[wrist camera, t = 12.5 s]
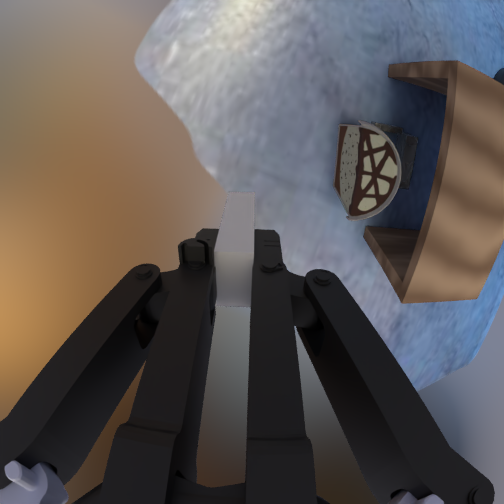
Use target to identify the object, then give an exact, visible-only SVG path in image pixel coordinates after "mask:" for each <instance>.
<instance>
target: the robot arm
mask: <svg viewBox="0 0 504 504" xmlns="http://www.w3.org/2000/svg"><path fill="white" fill-rule="evenodd" d="M494 80H496V81H498V82H499V83H501V84H503V85H504V68H503V69H501V70H500V71H499V72H498V73H497V74H496V76H495V78H494ZM254 221H255V192H229V193H228V197H227V201H226V205H225V209H224V212H223V217H222V220H221V225H220V228H219V229H202V230H200V231H199V232H198V233H197V234H196V237H195V238H191V239H187V240H184V241H183V242H181V243H180V244H179V245H178V252H179V260H180V265H179V268H178V269H176V270H173V271H168V272H161V273H160V269H159V267H158V266H156V265H154V264H141V265H138V266H136V267H134V268H133V269H131V270H130V271H129V272H128V273H127V274H126V275H125V276H124V277H123V278H122V279H121V280H120V281H119V283H118V284H117V285H116V286H115V287H114V288H113V289H112V290H111V291H110V292H109V293H108V294H107V295H106V296H105V297H104V299H103V300H102V301H101V302H100V303H99V304H98V305H97V306H96V307H95V308H94V309H93V310H92V312H91V313H90V314H89V315H88V316H87V317H86V318H85V319H84V320H83V322H82V323H81V324H80V325H79V326H78V327H77V328H76V330H75V331H74V332H73V333H72V334H71V335H70V337H69V338H68V339H67V340H66V341H65V342H64V344H63V345H62V346H61V347H60V348H59V350H58V351H57V352H56V353H55V355H54V356H53V357H52V358H51V359H50V361H49V362H48V363H47V364H46V366H45V367H44V368H43V369H42V370H41V372H40V373H39V374H38V376H37V377H36V378H35V380H34V381H33V382H32V384H31V385H30V386H29V387H28V389H27V390H26V391H25V393H24V394H23V396H22V397H21V398H20V399H19V401H18V402H17V404H16V405H15V406H14V408H13V409H12V410H11V412H10V413H9V415H8V416H7V417H6V418H5V419H3V420H2V421H1V422H0V503H1V504H65V503H66V502H67V500H68V494H67V492H66V490H65V489H64V485H65V484H66V483H67V482H68V481H70V479H71V478H72V477H73V476H74V475H75V474H76V473H77V471H78V470H79V468H80V467H81V465H82V464H83V462H84V461H85V459H86V457H87V456H88V454H89V452H90V451H91V449H92V447H93V445H94V443H95V442H96V440H97V439H98V437H99V435H100V434H101V432H102V430H103V429H104V427H105V425H106V424H107V422H108V420H109V419H110V417H111V415H112V414H113V412H114V411H115V409H116V407H117V406H118V404H119V402H120V401H121V399H122V397H123V396H124V394H125V393H126V391H127V389H128V388H129V386H130V385H131V383H132V381H133V380H134V378H135V377H136V375H137V373H138V372H139V370H140V369H141V367H142V366H143V364H144V362H145V361H146V363H145V366H144V369H143V373H142V376H141V380H140V383H139V386H138V389H137V393H136V396H135V400H134V403H133V407H132V411H131V414H130V417H129V420H128V421H127V422H126V423H124V424H121V425H120V426H119V427H118V428H117V431H116V433H115V435H114V439H113V443H112V446H111V450H110V454H109V458H108V463H107V467H106V471H105V475H104V479H103V482H102V483H101V484H99V485H98V486H96V487H95V488H94V489H92V490H91V491H90V492H88V493H86V494H85V495H84V496H82V497H81V498H79V499H78V500H76V501H75V502H74V503H72V504H330V503H328V502H327V501H326V500H324V499H323V498H321V497H320V496H317V495H316V482H315V469H314V458H313V449H312V444H311V441H310V439H308V437H307V436H306V431H305V422H304V411H303V401H302V391H301V381H300V372H299V363H298V354H297V347H296V337H295V330H294V326H296V328H297V331H298V334H299V336H300V338H301V340H302V342H303V344H304V347H305V349H306V351H307V353H308V355H309V358H310V360H311V362H312V364H313V366H314V368H315V371H316V373H317V375H318V377H319V379H320V381H321V384H322V386H323V388H324V390H325V392H326V395H327V397H328V399H329V401H330V403H331V405H332V408H333V410H334V412H335V414H336V416H337V418H338V421H339V423H340V425H341V427H342V430H343V432H344V434H345V436H346V438H347V441H348V443H349V445H350V447H351V450H352V452H353V454H354V456H355V458H356V461H357V463H358V465H359V467H360V470H361V472H362V474H363V476H364V479H365V481H366V482H367V484H368V486H369V488H370V490H371V492H372V493H373V495H374V496H375V497H376V499H377V500H378V502H379V503H380V504H492V503H493V501H494V494H495V492H494V487H493V484H492V483H491V482H490V480H489V479H487V478H486V477H485V476H484V475H483V474H481V473H480V472H479V471H478V470H477V469H475V468H474V467H473V466H472V465H471V464H470V463H468V462H467V461H466V460H465V459H464V458H462V457H461V456H460V455H459V454H458V453H456V452H455V451H454V450H453V449H452V448H451V447H450V446H449V444H448V443H447V441H446V439H445V438H444V436H443V434H442V432H441V431H440V429H439V427H438V426H437V424H436V422H435V421H434V419H433V417H432V416H431V414H430V412H429V411H428V409H427V407H426V406H425V404H424V402H423V401H422V399H421V398H420V396H419V395H418V393H417V391H416V390H415V388H414V387H413V385H412V383H411V382H410V380H409V379H408V377H407V376H406V374H405V373H404V371H403V370H402V368H401V367H400V365H399V364H398V362H397V361H396V359H395V357H394V356H393V355H392V353H391V352H390V350H389V349H388V347H387V346H386V344H385V343H384V341H383V340H382V338H381V337H380V335H379V334H378V332H377V331H376V330H375V328H374V327H373V325H372V324H371V322H370V321H369V320H368V318H367V317H366V315H365V314H364V313H363V311H362V310H361V308H360V307H359V306H358V304H357V303H356V301H355V300H354V299H353V297H352V296H351V294H350V293H349V292H348V290H347V289H346V288H345V286H344V285H343V284H342V282H341V281H340V280H339V278H338V277H337V276H336V275H335V274H334V273H332V272H330V271H327V270H323V269H315V270H311V271H309V272H308V273H307V274H306V276H305V277H304V276H299V275H296V274H293V273H291V272H289V271H288V270H287V268H286V266H285V264H284V263H283V259H282V252H281V244H280V237H279V234H278V233H277V232H276V231H275V230H259V229H254ZM215 303H217V306H230V307H231V306H233V307H251V313H250V314H251V315H250V345H249V377H248V407H247V409H248V410H247V439H246V470H245V483H241V484H235V485H228V486H222V487H215V488H210V487H205V486H202V485H200V484H197V483H196V482H197V466H196V458H197V448H198V440H199V432H200V424H201V415H202V408H203V400H204V393H205V385H206V377H207V371H208V364H209V356H210V350H211V343H212V335H213V329H214V322H215V315H216V311H215ZM146 359H147V360H146Z"/></svg>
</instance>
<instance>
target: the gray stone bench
mask: <svg viewBox="0 0 504 504" xmlns="http://www.w3.org/2000/svg"><path fill="white" fill-rule="evenodd" d="M371 124H373V125H374V126H376V127H378V128H379V129H380V130H381V131H385V132H391V133H395V134H397V139H396V146H395V148H396V149H397V152H398V155H399V158H400V163H401V181H400V184H399V188H402V189H409V185H410V180H411V175H412V170H413V165H414V160H415V154H416V148H417V142H418V137H415V136H413V135H410V134H407V133H402V130H403V128H400V127H397V126H392V125H388V124H383V123H377V122H372V121H371Z"/></svg>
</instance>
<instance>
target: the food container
mask: <svg viewBox="0 0 504 504" xmlns="http://www.w3.org/2000/svg"><path fill="white" fill-rule="evenodd" d="M358 122H359V123H360V124H361V126H360V125H348V124H339V128H338V140H337V151H336V161H335V171H334V179H333V187H334V189H335V191H336V193H337V195H338V197H339V198H340V200H341V202H342V204H343V206H344V208H345V210H346V212H347V214H348V216H346V218H347V219H348V220H351V221H357V220H363V219H367V218H370V217H372V216H374V215H376V214H378V213H379V212H381V211H382V210H383V209H384V208H386V207H387V206H388V205H389V203H390V202H391V201H392V200H393V198H394V196H395V195H396V193H397V190H398V188H399V184H400V181H401V163H400V158H399V155H398V152H397V149H396V148H395V146H394V144H393V143H392V141H391V140H390V139H389V138H388V136H387V135H386V134H385V133H384V132H383V131H381V130H380V129H379V128H378V127H376V126H374V125H373V124H370V123H368V122H365V121H361V120H358Z"/></svg>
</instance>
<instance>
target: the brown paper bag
mask: <svg viewBox="0 0 504 504" xmlns="http://www.w3.org/2000/svg"><path fill="white" fill-rule="evenodd" d="M388 77H389V78H393V79H397V80H401V81H404V82H408V83H411V84H414V85H418V86H421V87H424V88H427V89H430V90H433V91H436V92H439V93H441V94H444V95H447V100H446V110H445V118H444V126H443V132H442V139H441V145H440V151H439V156H438V161H437V166H436V171H435V176H434V180H433V185H432V189H431V193H430V197H429V201H428V205H427V209H426V212H425V216H424V220H423V223H422V227H421V230H409V229H397V228H384V227H370V226H366V228H365V232H364V236H363V237H364V239H365V241H366V242H367V244H368V245H369V247H370V249H371V250H372V252H373V254H374V255H375V257H376V259H377V260H378V262H379V264H380V265H381V267H382V269H383V271H384V272H385V274H386V276H387V278H388V279H389V281H390V283H391V285H392V286H393V288H394V290H395V292H396V294H397V296H398V297H399V299H400V301H401V303H424V302H442V301H458V300H471V299H477V298H478V296H479V294H480V292H481V290H482V288H483V286H484V284H485V282H486V280H487V278H488V275H489V273H490V271H491V269H492V267H493V264H494V262H495V260H496V257H497V255H498V253H499V250H500V248H501V245H502V242H503V240H504V85H503V84H501V83H499V82H498V81H496V80H494V79H492V78H491V77H489V76H487V75H485V74H483V73H482V72H480V71H478V70H476V69H474V68H472V67H470V66H468V65H466V64H464V63H462V62H460V61H425V62H411V63H400V64H390V65H389V70H388Z"/></svg>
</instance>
